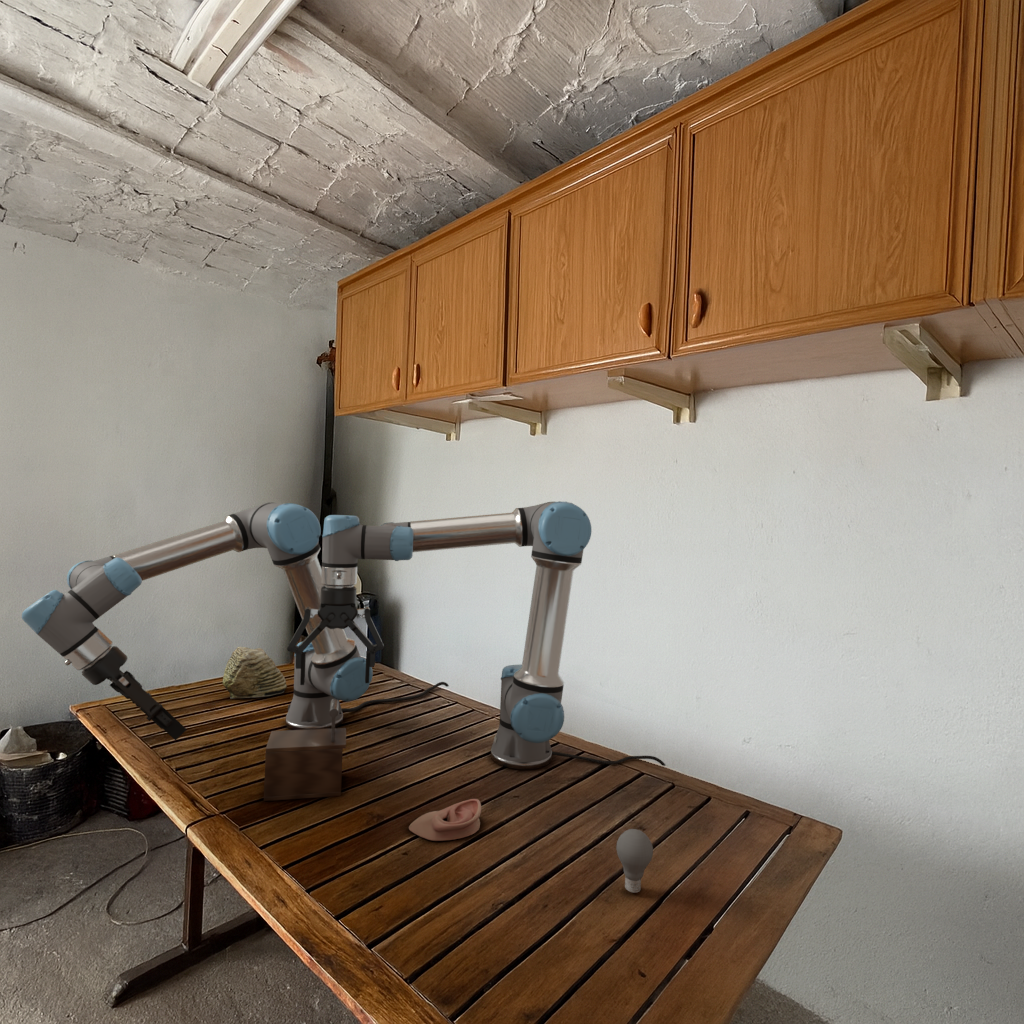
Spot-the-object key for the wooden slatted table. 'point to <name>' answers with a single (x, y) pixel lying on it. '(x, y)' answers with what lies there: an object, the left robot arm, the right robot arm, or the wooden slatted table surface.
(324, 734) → the lid
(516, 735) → the right robot arm
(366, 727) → the wooden slatted table surface
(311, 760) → the chest
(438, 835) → the anatomical model
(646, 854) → the light bulb
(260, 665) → the fossil
